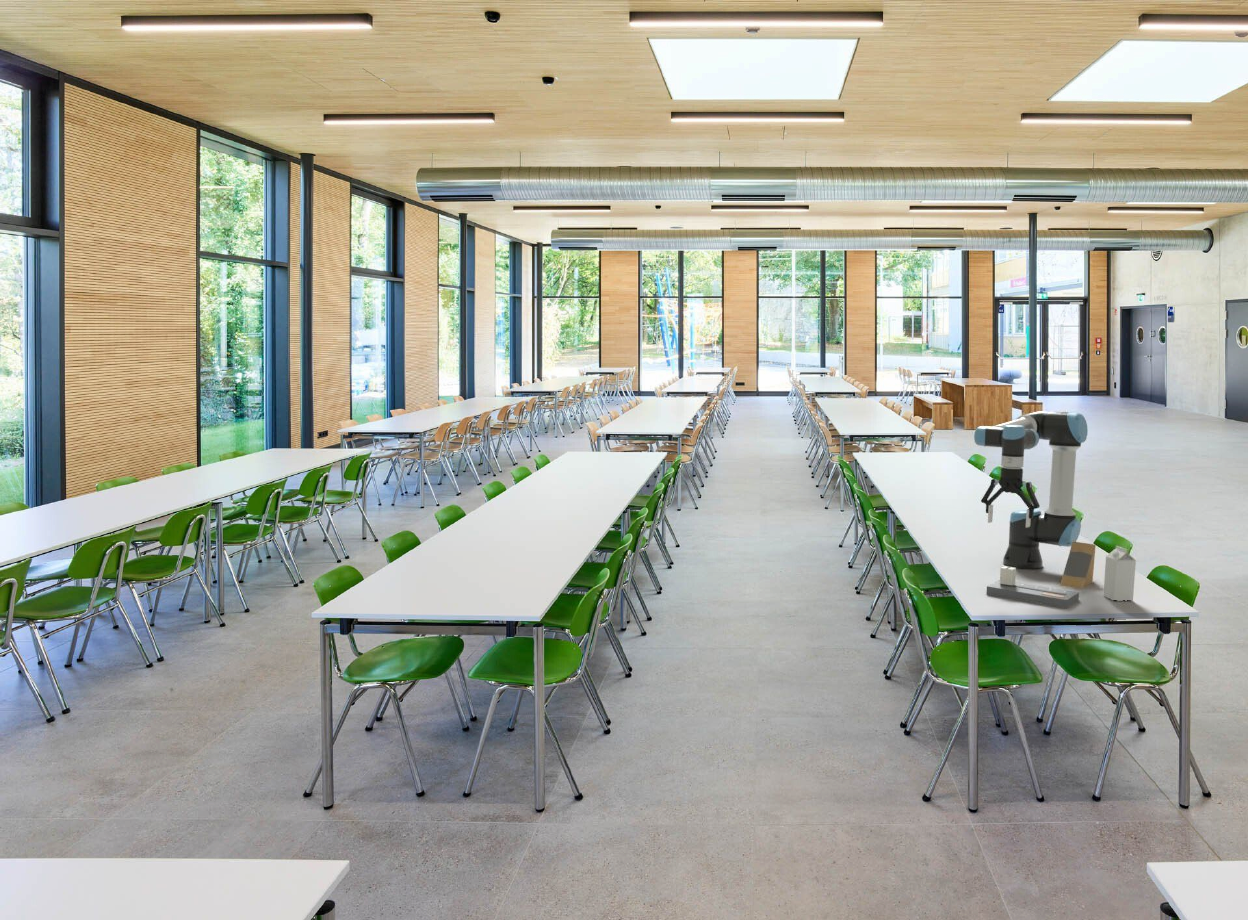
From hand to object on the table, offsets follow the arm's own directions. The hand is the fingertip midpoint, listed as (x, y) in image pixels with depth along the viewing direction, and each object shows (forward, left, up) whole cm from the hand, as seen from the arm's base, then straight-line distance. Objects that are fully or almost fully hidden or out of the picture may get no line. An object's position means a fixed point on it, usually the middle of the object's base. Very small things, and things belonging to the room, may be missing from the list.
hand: (1008, 524), depth 347 cm
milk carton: (-19, +34, -26) cm, 47 cm away
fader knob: (0, +1, -22) cm, 22 cm away
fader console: (0, +10, -26) cm, 27 cm away
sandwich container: (-32, +16, -26) cm, 44 cm away
